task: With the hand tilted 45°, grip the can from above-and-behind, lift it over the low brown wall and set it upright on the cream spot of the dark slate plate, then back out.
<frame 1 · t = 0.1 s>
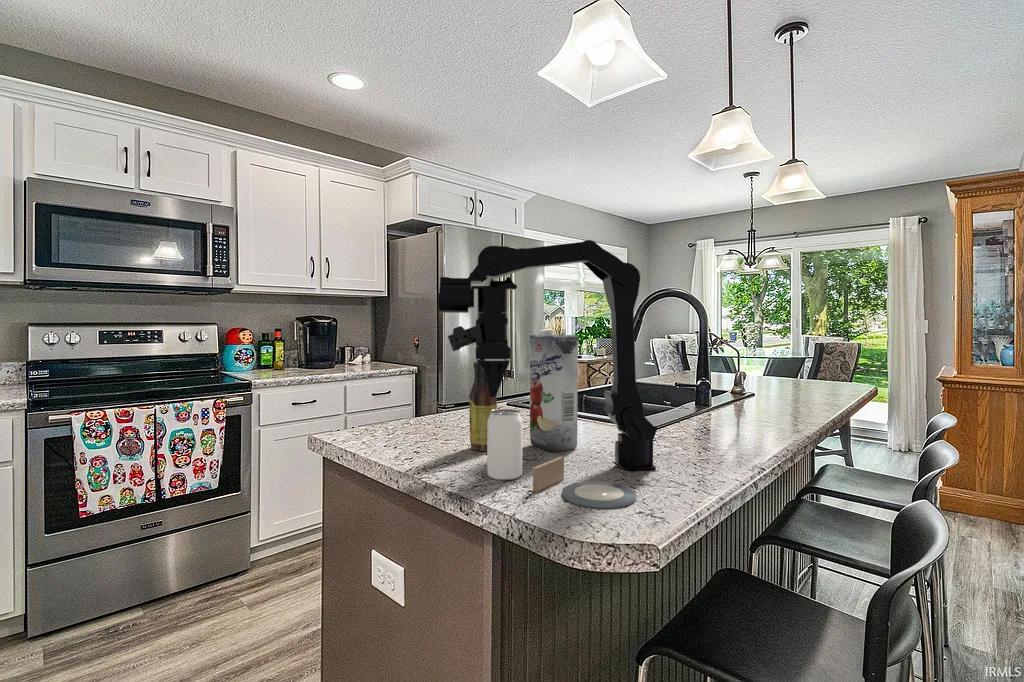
hand: (492, 393, 101), 15 cm above the table, tool pointing down, fingers open, 9 cm apart
slate plate: (598, 495, 86), on the table
sauce bottle: (483, 449, 118), on the table
can: (504, 476, 97), on the table
juice carton: (553, 447, 120), on the table
brown wall: (549, 485, 91), on the table
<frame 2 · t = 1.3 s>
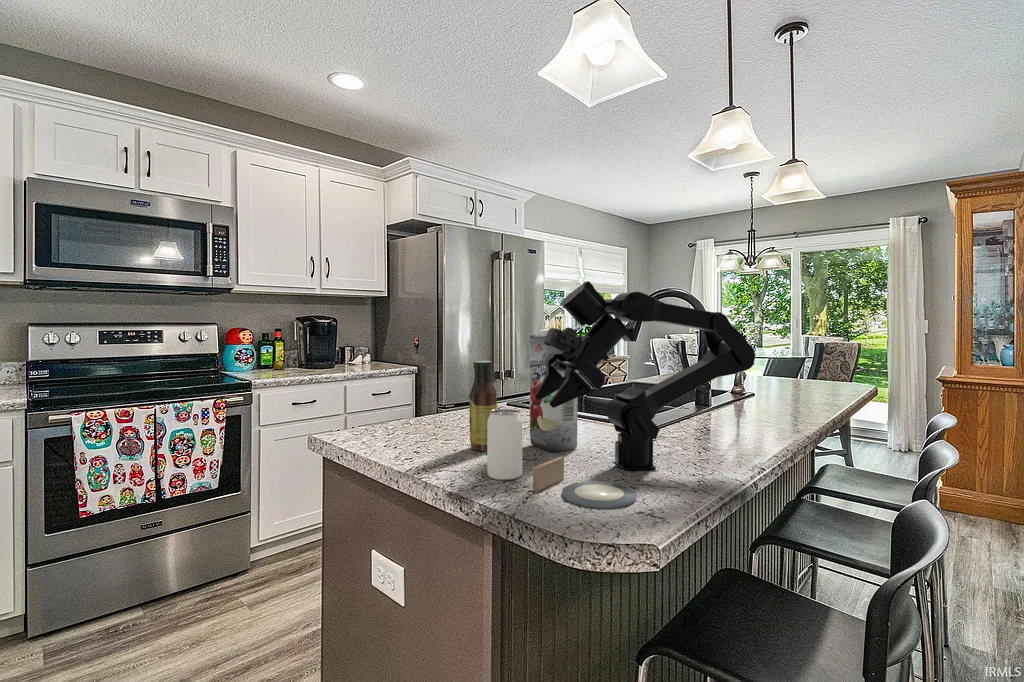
hand: (543, 402, 98), 13 cm above the table, tool tilted 45°, fingers open, 9 cm apart
nothing on the table moved.
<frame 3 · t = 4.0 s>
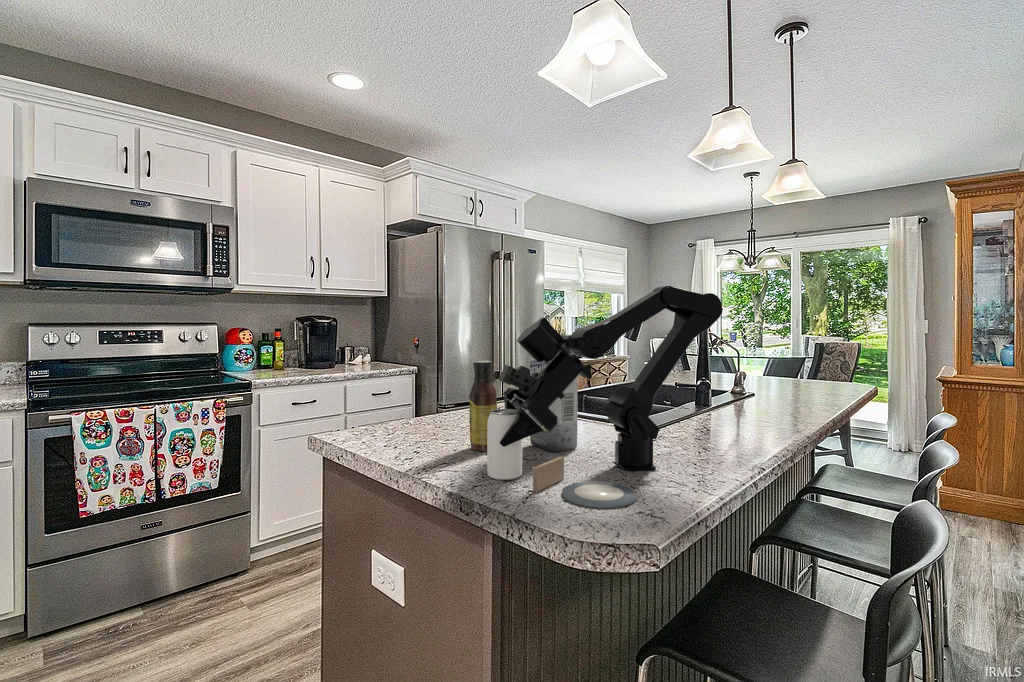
hand: (497, 440, 96), 7 cm above the table, tool tilted 45°, fingers closed on can, 6 cm apart
can: (504, 476, 97), on the table, touching gripper
everything else where it was.
when the fingers open (8 cm above the table, at t = 9.0 s): can stays where it is, resting on slate plate.
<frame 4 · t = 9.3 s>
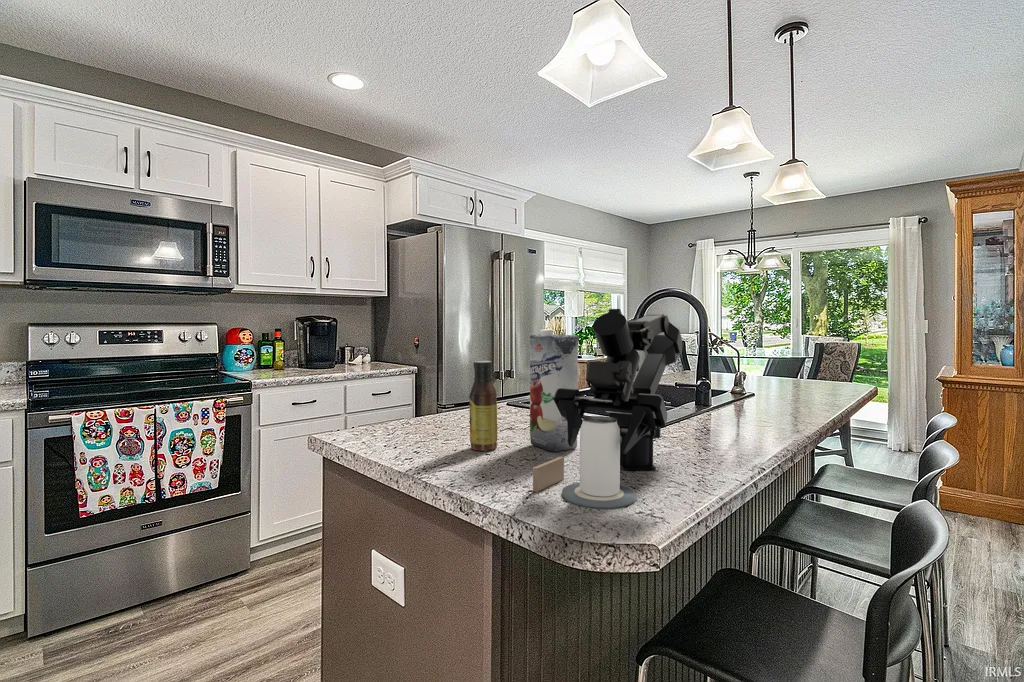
hand: (596, 448, 84), 8 cm above the table, tool tilted 45°, fingers open, 9 cm apart
can: (599, 492, 86), resting on slate plate
everything else where it was.
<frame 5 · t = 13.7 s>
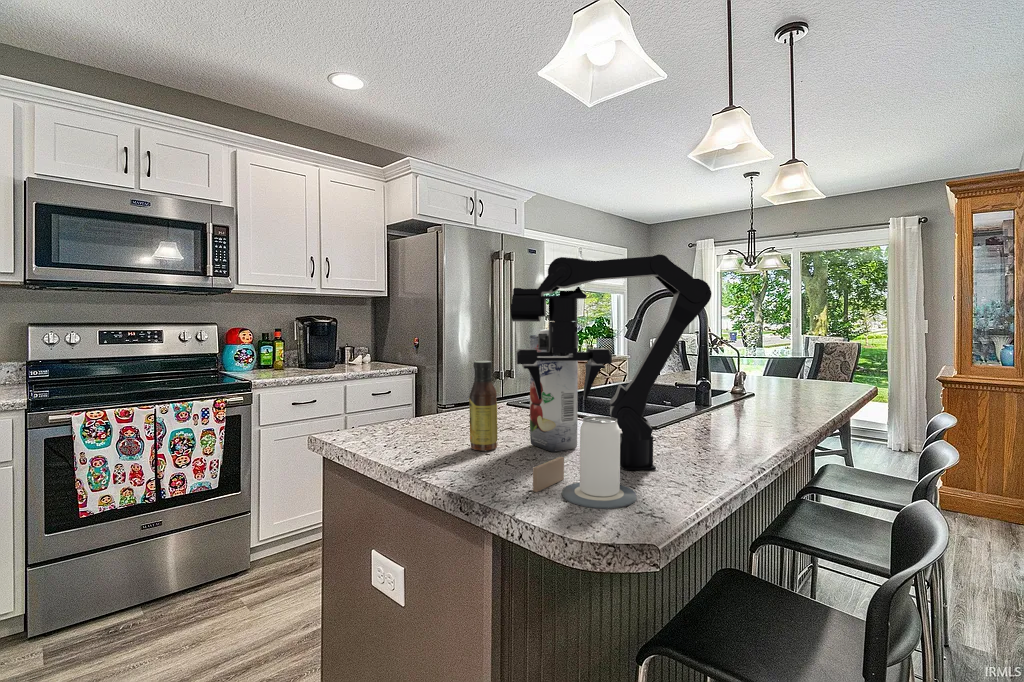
hand: (562, 399, 105), 13 cm above the table, tool pointing down, fingers open, 9 cm apart
nothing on the table moved.
at the end: can 0.1 cm off-centre on the slate plate, point 0.4 cm above the slate plate's base; can tilted 0°; the gripper is holding nothing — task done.
